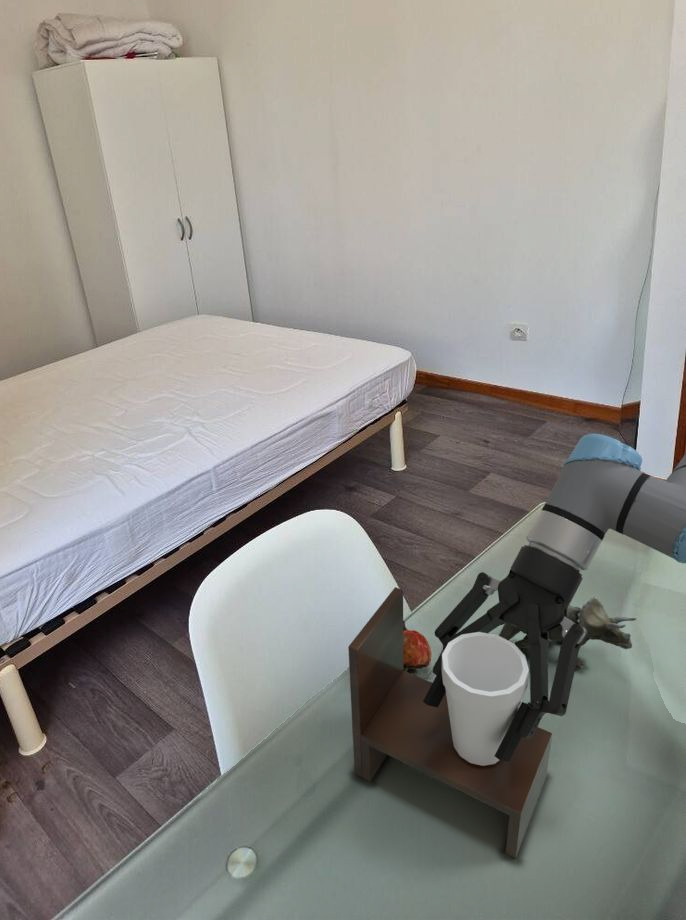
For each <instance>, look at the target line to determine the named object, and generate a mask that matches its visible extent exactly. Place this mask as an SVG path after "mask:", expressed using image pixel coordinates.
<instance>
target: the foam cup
mask: <svg viewBox="0 0 686 920" xmlns="http://www.w3.org/2000/svg"><path fill="white" fill-rule="evenodd" d="M527 661H528V660H527V657H526V654H525V655H524V654H523V653H522V652H521V651H520V650H519V649H518V648H517V646H516V645H515V643H514V642H513V641H510V640H506V639H504V638H502V637H500V636H499V634H493V633H482V632H475V633H469V634H462V635H460V636H459V637H457V638H455V639H454V640H452V641H450V642H449V643H448V645H447V646H446V648H445V650H444V652H443V654H442V679H443V685H444V686H445V689H446V696H447V703H448V710H449V717H450V724H451V732H452V739H453V744H454V748H455V749H456V751H457V752H458V754H459V755H460V756H461V757H462V758H464V759H465V760H467V761H468V762H470V763H473V764H477V765H481V766H485V765H491V764H495V763H496V762H498V761H499V759H497V758H496V757H495V754H496V752H497V750H498V748H499V746H500V744H501V742H502V740H503V738H504V736H505V734H506V732H507V730H508V728H509V726H510V724H511V722H512V720H513V719H514V717H515V715H516V713H517V711H518V709H519V707H520V705H521V703H522V700H523V698H524V696H525V694H526V690H527V688H528V684H529V676H530V668H529V664H528V662H527Z"/></svg>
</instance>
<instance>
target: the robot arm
mask: <svg viewBox="0 0 686 920" xmlns="http://www.w3.org/2000/svg"><path fill="white" fill-rule="evenodd" d="M642 464H643V458H642V455H641V454H640V453H639V452H638V451H637V450H636V449H635V448H633V447H631V446H630V445H628V444H625V443H623V442H621V441H620V440H619V439H616V438H613V437H611V436H608V435H604V434H599V433H587V434H585V435H583V436H582V437H581V438H580V439H579V440H578V442H577V443H576V445H575V447H574V449H573V450H572V452H571V454H570V455H569V457H568V458H567V459H566V460H565V461H564V463H563V467H562V468H561V471H560V473H559V475H558V477H557V479H556V481H555V483H554V485H553V487H552V489H551V491H550V493H549V495H548V497H547V498H546V501H545V503H544V504H543V506H542V508H541V510H540V512H539V514H538V516H537V517H536V519H535V521H534V523H533V525H532V526H531V528H530V530H529V532H528V534H527V535H526V540H527V542H528V545H527V544H525V545H523V546H521V548H520V549H519V551H518V553H517V555H516V557H515V559H514V561H513V563H512V564H511V566H510V569H509V572H508V574H507V575H506V577H504V578H503V579H501V580H499V579H496V578H494V577H492V576H491V575H489V574H487V573H485V572H484V571H481V572H479V573H477V577H476V579H475V581H474V584H473V586H472V588H471V589H470V590H469V591H468V592H467V593H466V595H465V596H464V597H463V598H462V599H461V600H460V602H458V603H457V605H456V606H455V607H454V608H453V609H452V611H450V612H449V614H448V615H447V616H446V617H445V618H444V619H443V621H442V622H441V623H440V624H439V625H438V626H437V627H436V628H435V630H434V637H436V638H437V639H438V640H439V641H440V643H441V644H442V650H441V652H440V653H439V656H438V658H437V659H436V661H435V663H434V665H433V667H432V673H433V674H434V675H435V677H434V679H433V682H432V685H431V687H430V689H429V691H428V693H427V694H426V696H425V698H424V700H423V702H424V703H425V704H427V705H428V706H433V707H437V708H438V706H439V704H440V702H441V700H442V699H443V697H444V695H445V693H446V689H445V686H444V685H443V679H442V654H443V652H444V650H445V648H446V646H447V645H448V643H449V642H450V641H452V640H454V639H455V638H457V637H459V636H460V635H462V634H469V633H475V632H482V633H488V634H490V633H491V632H492V631H494V630H495V629H497V628H498V627H499V626H504V624H505V623H509V624H511V625H513V626H515V627H518V628H519V629H520V630H521V631H520V632H522V633H523V632H524V633H523V634H525V633H526V634H528V640H529V643H530V647H529V698H530V700H529V702H524V701H521V702H520V706H519V709H518V711H517V713H516V715H515V717H514V719H513V720H512V722H511V724H510V726H509V728H508V730H507V732H506V734H505V736H504V738H503V740H502V742H501V744H500V746H499V748H498V750H497V752H496V754H495V757H496V758H497V759H499V760H500V761H508V762H509V761H510V759H511V757H512V755H513V753H514V752H515V750H516V748H517V746H518V744H519V742H520V740H521V738H522V737H524V738H527V739H530V738H531V737H532V736H533V734H534V732H535V730H536V728H537V727H539V724H540V722H541V721H542V718H543V717H544V716H545V715H546V714H551V715H554V716H559V717H564V716H565V715H566V713H567V711H568V710H567V709H568V704H569V700H570V695H571V691H572V685H573V680H574V676H575V671H576V668H575V667H576V662H577V658H579V652H580V649H581V647H582V646H583V645H582V644H583V642H584V641H585V639H586V638H587V636H588V631H587V629H585V628H584V627H582V626H581V625H579V624H575V623H574V622H573V621H571V620H570V619H568V618H567V608H568V606H569V605H570V604H571V602H572V601H573V599H574V597H575V595H576V593H577V591H578V590H579V587H580V585H581V583H582V581H583V579H584V577H583V574H581V571H587V570H588V569H589V567H590V565H591V564H592V561H593V560H594V557H595V555H596V554H597V552H598V550H599V548H600V546H601V544H602V542H603V540H604V538H605V536H606V534H607V532H608V531H609V530H612V531H614V532H616V533H618V534H621V535H624V536H626V537H628V538H630V539H632V540H634V541H636V542H639V543H640V544H643V545H645V546H647V547H648V548H651V549H652V550H655V551H657V552H659V553H661V554H663V555H665V556H667V557H669V558H671V559H673V560H675V561H676V562H677V563H680V564H686V452H685V453H684V454H683V456H682V457H681V459H680V461H679V462H678V463H677V465H676V466H675V467H674V469H673V470H672V472H671V473H670V474H669V476H667V478H666V479H665V480H663V479H661V478H659V477H656V476H652V475H650V474H649V473H646V472H644V471H642ZM495 592H497V595H498V596H497V597H498V603H496V604H495V605H492V606H491V607H490V608H489V609H487V611H486V613H484V614H483V615H481V616H479V618H477V619H476V620H474V621H473V622H471V623H470V624H468V625H467V626H465V627H464V628H463V626H464V625H465V624H467V622H469V620H470V619H471V618H472V617H473V615H475V613H476V612H477V611H478V610H479V609H480V607H482V605H483V604H484V603H485V602H486V601H487V600H488V598H489V596H492V595H494V593H495ZM561 625H562V628H563V630H562V636H563V638H564V639H563V641H562V642H561V645H560V647H561V648H560V647H559V652H558V653H559V654H558V657H557V661H556V662H557V663H556V666H555V672H554V676H553V682H552V684H551V690H550V695H549V646H550V640H549V631H550V630H553V629H555V628H557V627H559V626H561ZM526 634H525V635H526Z"/></svg>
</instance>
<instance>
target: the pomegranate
mask: <svg viewBox="0 0 686 920" xmlns="http://www.w3.org/2000/svg"><path fill="white" fill-rule="evenodd" d="M431 661H432V649H431V646H430V644H429V642H428V640H427V638H426V637H425V636H424V635H423V634H422V633H420V632H419V631H417V630H414V629H413V630H411V629H410V630H409V629H407V627H406V622H405V620H403V670H404V671H406V672H408V670H421V669H423V668H427V667H429V666H430V663H431Z"/></svg>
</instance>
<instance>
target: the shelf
mask: <svg viewBox="0 0 686 920" xmlns="http://www.w3.org/2000/svg"><path fill="white" fill-rule="evenodd" d="M403 621H404V589H401V588H399V587H395V586H394V588H393V589H392V590H391V592H390V593H389V594H388V595H387V597H386V598H385V599H384V600H383V602H382V603H381V604H380V605H379V607H378V608H377V609H376V611H375V612H374V613H373V614H372V616H371V617H370V618H369V620H368V621H367V622H366V623H365V624H364V626H363V627H362V628H361V630H359V632H358V633H357V635H356V636H355V637H354V639H353V640H352V641H351V643H350V644H349V645H348V666H349V667H348V669H349V689H350V707H351V708H350V709H351V729H352V750H353V769H354V770H353V771H354V775H356V776H358V777H360V778H362V779H364V780H365V781H367V782H369V783H371V782H372V781H373V779H374V777H375V776H376V774H377V772H378V771H379V769H380V768H381V766H382V764H383V762H384V761H385V759H386V758H387V756H389V757H391V758H392V759H395V760H397V761H399V762H401V763H403V764H405V765H407V766H409V767H411V768H412V769H413V768H414V769H415V770H417V771H419V772H421V773H423V774H424V775H427V776H429V777H431V778H433V779H435V780H437V781H439V782H441V783H443V784H446V785H447V786H449V787H451V788H454V789H456V790H458V791H460V792H462V793H464V794H465V795H467V796H469V797H471V798H474V799H475V800H478V801H480V802H481V803H483V804H486V805H488V806H489V807H492V808H494V809H495V810H497V811H500V812H502V813H503V814H505V815H508V817H509V818H508V826H507V827H508V828H507V835H506V836H507V837H506V846H505V854H506V855H507V856H510V857H512V858H513V859H515V860H516V859H517V857H518V854H519V851H520V848H521V846H522V843H523V840H524V838H525V835H526V833H527V830H528V827H529V825H530V823H531V819H532V816H533V815H534V811H535V808H536V806H537V803H538V800H539V797H540V796H541V793H542V790H543V787H544V784H545V781H546V779H547V776H548V767H549V761H550V753H551V744H552V737H553V732H551V731H548V730H546V729H543V728H542V727H539V726H537V728H536V730H535V732H534V734H533V736H532V737H531V738H530V739H527V738H524V737H522V738H521V740H520V742H519V744H518V746H517V748H516V750H515V752H514V753H513V755H512V757H511V759H510V761H509V762H508V761H500V760H499V761H498V762H496V763H495V764H491V765H485V766H481V765H477V764H473V763H470V762H468V761H467V760H465V759H464V758H462V757H461V756H460V755H459V754H458V752H457V751H456V749H455V748H454V744H453V739H452V732H451V724H450V717H449V710H448V703H447V696H446V693H445V695H444V697H443V699H442V700H441V702H440V704H439V706H438V708H437V707H433V706H428V705H427V704H425V703H424V702H423V700H424V698H425V696H426V694H427V693H428V691H429V689H430V687H431V685H432V683H433V682H432V681H430V680H427V679H425V678H422V677H420V676H418V675H415V674H413V673H410V672H408V671H407V672H406V671H405V670H404V668H403Z"/></svg>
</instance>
